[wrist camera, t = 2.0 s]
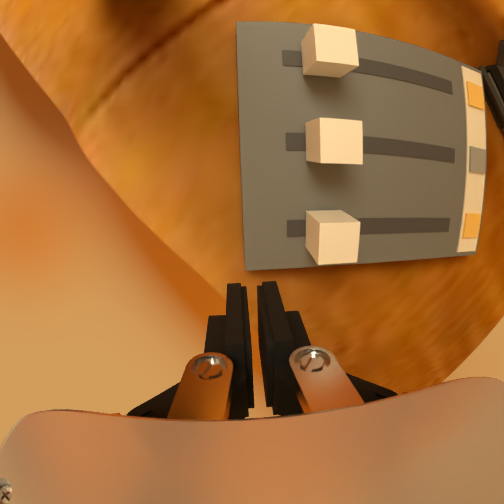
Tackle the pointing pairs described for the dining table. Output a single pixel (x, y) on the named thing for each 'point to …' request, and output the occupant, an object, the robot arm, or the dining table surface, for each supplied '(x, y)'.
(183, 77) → the dining table surface
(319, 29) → the knob
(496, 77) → the pistol
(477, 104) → the switch board
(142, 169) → the dining table surface
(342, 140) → the knob
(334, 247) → the knob
